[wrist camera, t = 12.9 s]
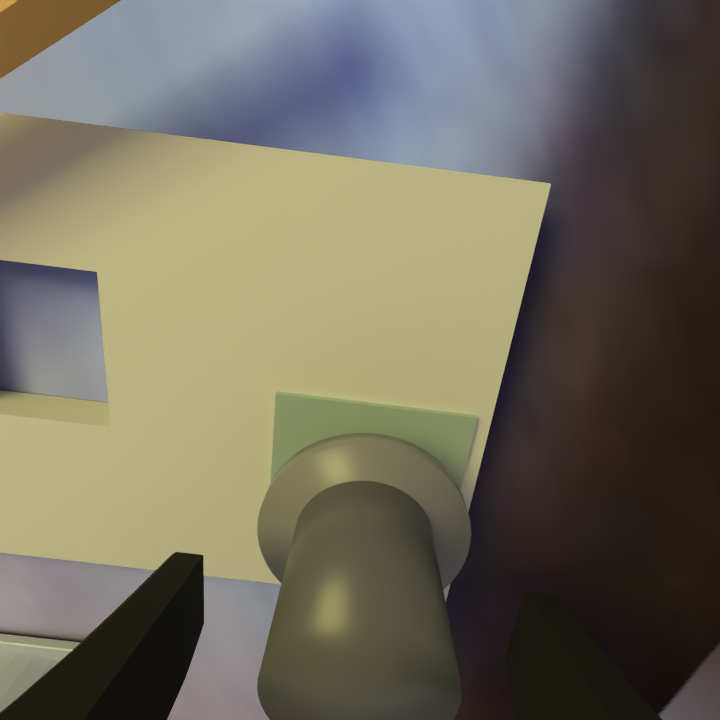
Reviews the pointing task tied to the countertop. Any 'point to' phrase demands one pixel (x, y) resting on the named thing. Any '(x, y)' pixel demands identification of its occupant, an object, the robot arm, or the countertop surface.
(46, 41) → the tan wooden rod
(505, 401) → the countertop surface
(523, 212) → the board
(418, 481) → the plug
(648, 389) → the countertop surface
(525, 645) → the robot arm
